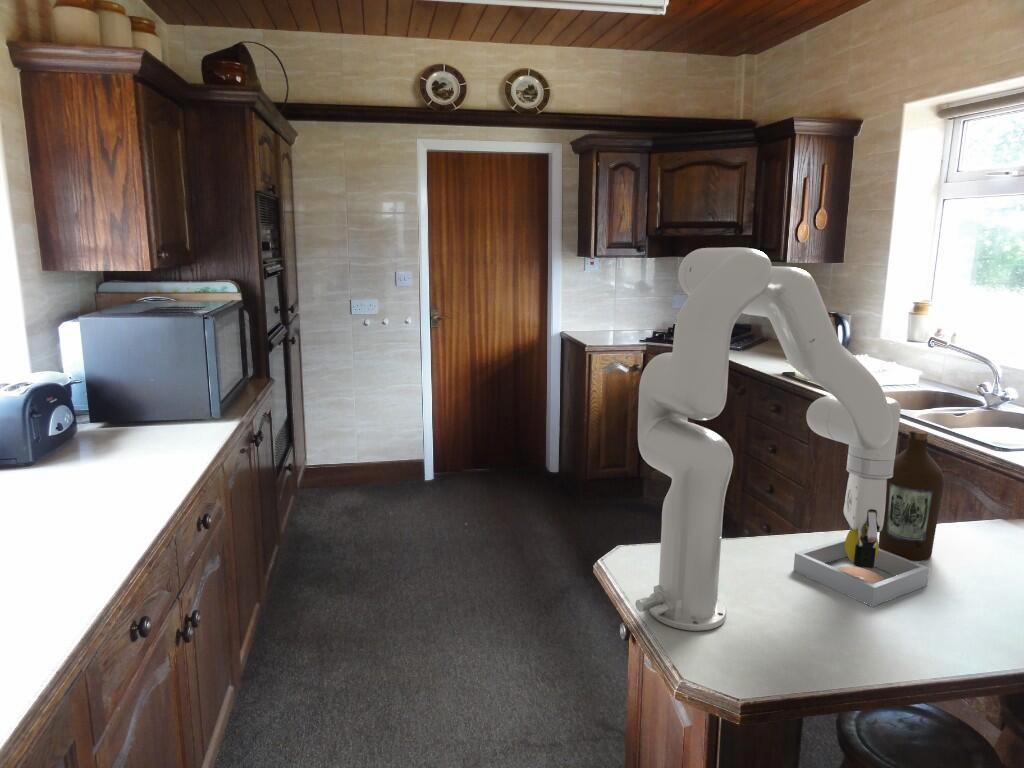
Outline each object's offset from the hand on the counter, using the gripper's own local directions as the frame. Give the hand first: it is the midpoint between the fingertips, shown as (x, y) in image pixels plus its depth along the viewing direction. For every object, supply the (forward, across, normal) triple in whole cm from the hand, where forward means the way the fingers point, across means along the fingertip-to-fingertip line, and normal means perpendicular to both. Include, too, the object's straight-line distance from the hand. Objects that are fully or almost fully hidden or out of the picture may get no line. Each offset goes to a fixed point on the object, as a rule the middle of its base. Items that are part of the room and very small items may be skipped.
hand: (859, 558), depth 129 cm
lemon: (+2, 0, 0) cm, 2 cm away
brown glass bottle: (+4, -16, +12) cm, 20 cm away
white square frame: (+4, 0, 0) cm, 4 cm away
